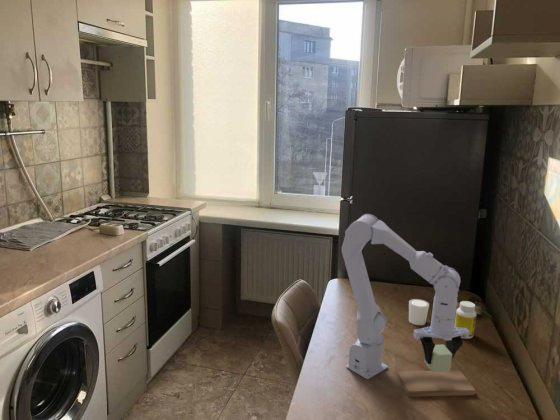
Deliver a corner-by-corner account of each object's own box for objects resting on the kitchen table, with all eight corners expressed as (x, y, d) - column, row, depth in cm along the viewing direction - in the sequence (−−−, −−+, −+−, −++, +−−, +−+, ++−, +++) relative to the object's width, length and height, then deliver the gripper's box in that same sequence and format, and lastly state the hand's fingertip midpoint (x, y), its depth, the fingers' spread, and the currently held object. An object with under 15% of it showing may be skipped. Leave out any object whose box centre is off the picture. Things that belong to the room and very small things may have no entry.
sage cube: (432, 372, 122) (434, 355, 121) (424, 361, 127) (426, 345, 126) (450, 371, 123) (452, 354, 122) (441, 360, 128) (443, 344, 127)
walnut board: (474, 395, 123) (475, 390, 122) (408, 396, 121) (408, 391, 121) (459, 375, 131) (459, 370, 131) (397, 376, 130) (397, 371, 130)
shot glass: (419, 315, 167) (421, 297, 165) (431, 324, 160) (433, 306, 159) (403, 318, 165) (404, 299, 163) (414, 327, 158) (416, 308, 157)
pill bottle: (475, 340, 151) (479, 309, 148) (455, 338, 152) (459, 306, 149) (471, 331, 157) (475, 301, 154) (452, 329, 158) (456, 298, 155)
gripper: (423, 323, 117) (417, 371, 120) (477, 321, 118) (471, 369, 122) (412, 310, 123) (407, 356, 127) (464, 309, 125) (458, 354, 128)
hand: (437, 361), depth 125 cm, fingers closed on sage cube, 5 cm apart
